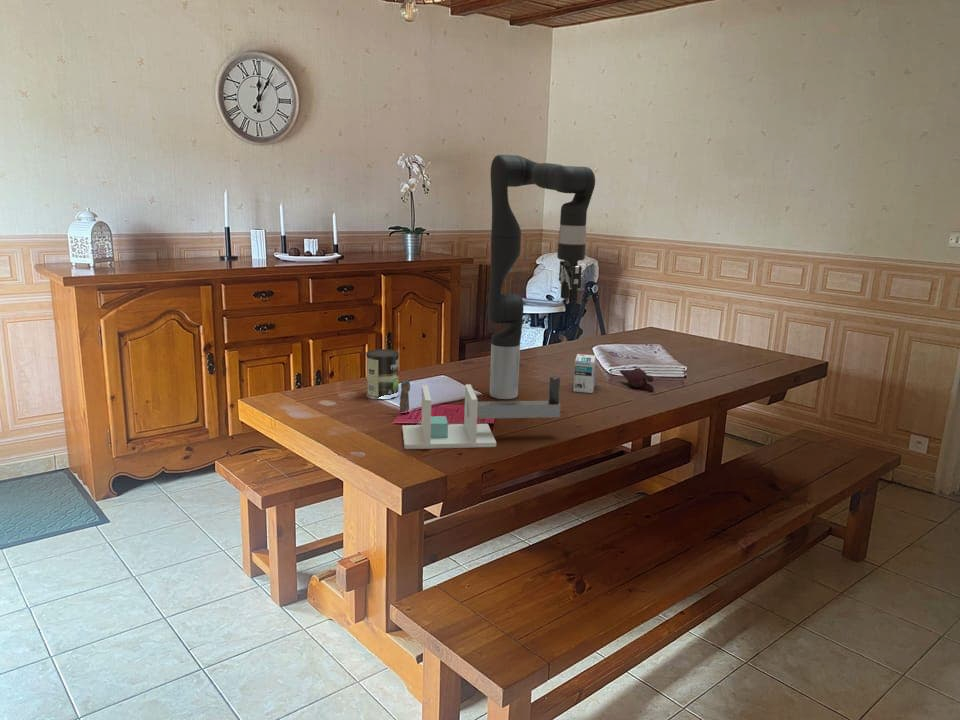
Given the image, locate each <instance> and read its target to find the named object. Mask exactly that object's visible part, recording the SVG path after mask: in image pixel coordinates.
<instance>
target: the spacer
mask: <svg viewBox="0 0 960 720" xmlns="http://www.w3.org/2000/svg"><path fill="white" fill-rule="evenodd" d="M448 424H449V423H448V419H447V416H446V415H441V416H440V415H437V416H436V415H435V416H434V415H433V416H432V415H431V438H448Z"/></svg>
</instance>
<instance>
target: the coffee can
mask: <svg viewBox="0 0 960 720" xmlns="http://www.w3.org/2000/svg"><path fill="white" fill-rule="evenodd" d="M365 355H366V397H367V398H369V399H372V400H376V399H378V398H379V397H381V396H384V395H391V394H394V393H397V392H398V391H400V390H399V387H400V386H399V381H400V379H399V370H400V369H399V364H400V363H399V361H400V360H399V355H400V352H399V351H397V350H395V349H394V350H393V349H388V348H387V349H386V348H377V349H372V350H368V351H366V352H365Z"/></svg>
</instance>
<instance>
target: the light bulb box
mask: <svg viewBox="0 0 960 720" xmlns="http://www.w3.org/2000/svg"><path fill="white" fill-rule="evenodd" d="M596 366H597V355H595V354H594V355H593V354H582V353H577V354H576V357H575V360H574V375H573V376H574V377H573V389H572V390H573V392H575V393H577V392H578V393H589V394H593V393H594V388H595V378H596Z"/></svg>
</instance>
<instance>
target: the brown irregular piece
mask: <svg viewBox="0 0 960 720" xmlns="http://www.w3.org/2000/svg"><path fill="white" fill-rule="evenodd" d="M619 373H620V374H621V375H622V376H623V377H624V378H625V379H626V380H627V383H628V385H629V386H630V387H631V388H633V387H634V388H638V389H640V388H643V387H644V388H645V390H647V391H648V392H654V390H655V388H654V386H653V385H652V384H649V383H651V382H654V379H655V378H654V376H653V375H648V374H647V372H646V371H644V370H643V369H641V368H640V367H636V368H634V369H623V370H622V369H621V370H619Z"/></svg>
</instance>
